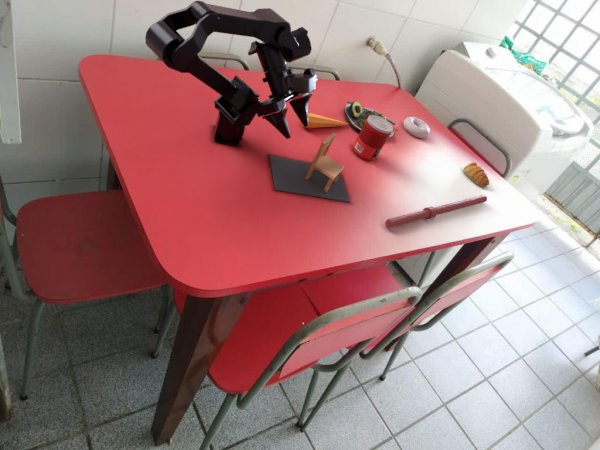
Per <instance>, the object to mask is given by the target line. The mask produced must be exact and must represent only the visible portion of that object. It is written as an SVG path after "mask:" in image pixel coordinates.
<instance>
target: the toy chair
mask: <svg viewBox="0 0 600 450" xmlns="http://www.w3.org/2000/svg"><path fill="white" fill-rule="evenodd" d="M335 138H336V133H334V132H332V133H331V134H330V135H329V136H328V137H327V138H326V139H325V140H322V142H321V143H320V145H319V147H318V150H317V152H316V154H315V156H314V157H313V159H312V162H311V163H312V164H311V166H310V168H309V170H308V173H307V175H306V177H305V178H306V179H307V180H308V179H309V178H310V176H311V174H312V172H313V170H314V168H315V170H317V171H318V170H319V171H320V172H322V173H323V174H325V175H326V176H328V177H330V179H329V181H328V183H327V185H326V186H325V188H324V191H325V192H327V191H328V189H329V187H330V186H331V184H332V182H333V181H334V182H336V181H337V179H338V177H339V176H340V174H341V175H342V172H343V170H344V169H345V166H344V165H342V164H341V163H339V162H337V161H335V160H334V159H333V158H331V157H329V156H328V155H327V154H328V151H329V149H330V147H331V146H332V144H333V142H334V139H335Z"/></svg>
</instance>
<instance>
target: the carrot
mask: <svg viewBox="0 0 600 450" xmlns="http://www.w3.org/2000/svg"><path fill="white" fill-rule="evenodd" d="M300 124H301V126H302V127H303V128H305V129H316V128H319V129H320V128H332V127H344V126H350V124H348V122H344V121H341V120H338V119H335V118H330V117H328V116H323V115H319V114H316V113H313V112H308V126H304V125H303V124H302V123H301V122H300Z"/></svg>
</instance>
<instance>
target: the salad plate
mask: <svg viewBox="0 0 600 450" xmlns="http://www.w3.org/2000/svg"><path fill="white" fill-rule="evenodd" d="M346 103H347V104H346V105H345V106H344V109H343V111H344V114H343V115H344V117H345V120H346V123H347V124H350V125H349V126H350V127H351V128H352V130H353V131H355V132H356V133H358V134H359V133H360V131H361V129H362V127H363V126H364V124H365V122H366V120H367V118H368V117H369V116H370V115H376V116H379V117H382V118H384V119H385V120H387V121H388V122H389V123H390V124H391V125H392V126H396V122H395V121H393V120H391V119H389V118H387V116H384V115H383V113H380V112H379V111H377V110H376V109H373V108H368V107H364V106H363V105H362V103H361V102H360V101H359V100H354V101H351V100H347V101H346ZM394 133H395V132H394V131H392V133H391V134H390V136H389V138H392V137H393V136H395V135H394Z"/></svg>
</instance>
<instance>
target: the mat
mask: <svg viewBox="0 0 600 450" xmlns="http://www.w3.org/2000/svg"><path fill="white" fill-rule="evenodd" d="M268 158H269V163H270V169H271V175H272V182H273V187H274V191H277V192H284V193H291V194H294V195H295V194H296V195H303V196H308V197H315V198H321V199H326V200H332V201H337V202H344V203H350V202H351V201H350V199H349V195H348V192H347V189H346V186H345V183H344V180H343V177H342V173H341V174H340V176H339V177H338V179H337V181H336V182H334V181H333V182H332V184H331V186H330V187H329V189H328V191H327V192H325V191H324V188H325V186H326V185H327V183H328V181H329V179H330V177H328V176H326V175H325V174H323V173H322V172H320V171H319V170H318V171H317V170H315V168H314V170H313V172H312V174H311V176H310V178H309V179H308V180H307V179H306V178H305V177H306V175H307V173H308V170H309V168H310V166H311V164H312V162H308V161H307V162H306V161H303V160H297V159H291V158H287V157H281V156H277V155H271V154H269V155H268Z"/></svg>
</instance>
